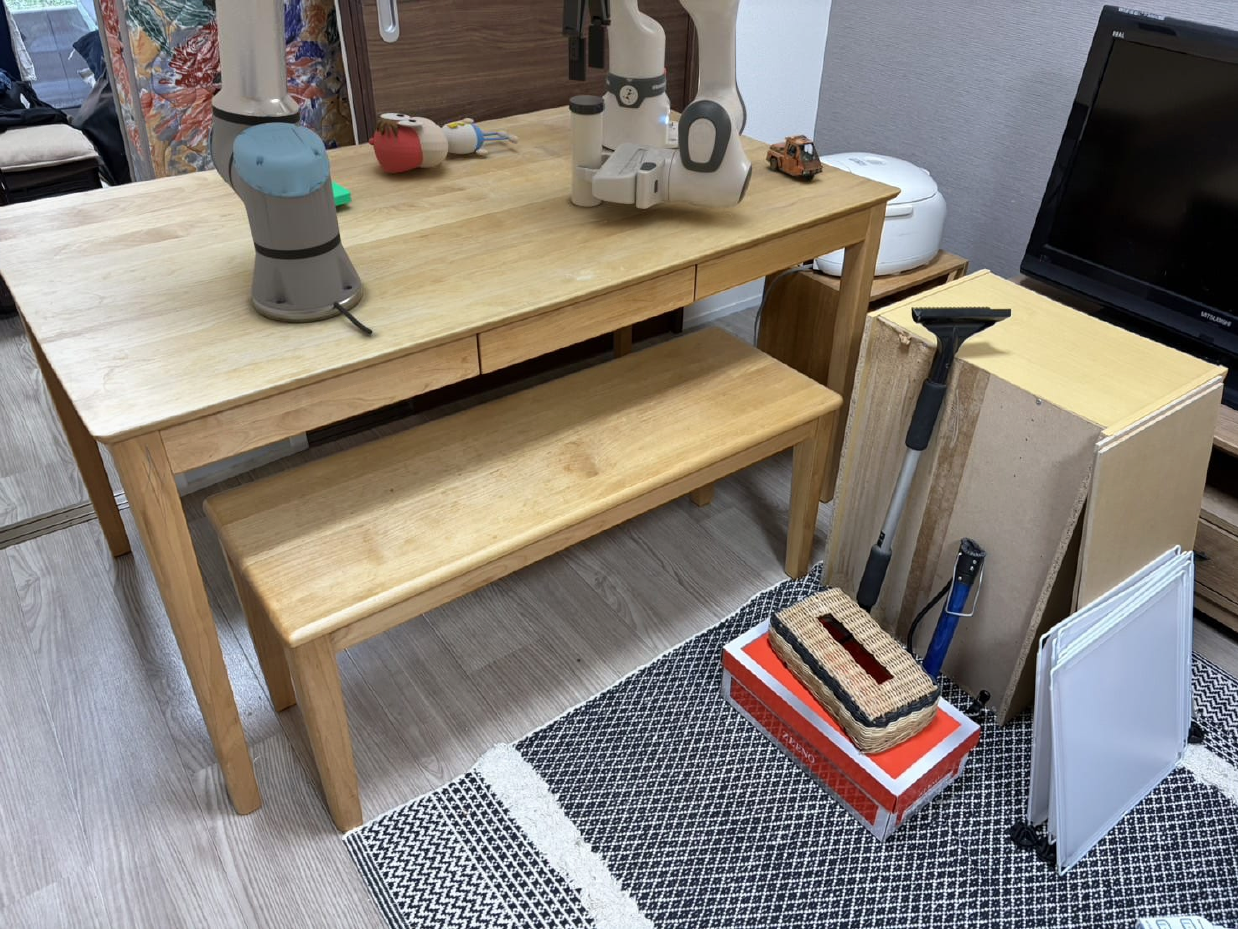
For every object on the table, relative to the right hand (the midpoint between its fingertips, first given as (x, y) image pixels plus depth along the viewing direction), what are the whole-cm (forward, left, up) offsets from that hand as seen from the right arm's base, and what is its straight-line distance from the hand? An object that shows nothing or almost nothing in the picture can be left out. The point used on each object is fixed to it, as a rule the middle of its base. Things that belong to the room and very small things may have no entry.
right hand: (581, 165), depth 164 cm
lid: (0, +1, +11) cm, 11 cm away
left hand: (0, +1, +16) cm, 16 cm away
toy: (-12, -32, -6) cm, 35 cm away
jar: (0, +1, -6) cm, 6 cm away
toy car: (-27, +35, -6) cm, 45 cm away
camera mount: (+16, -44, -6) cm, 47 cm away
